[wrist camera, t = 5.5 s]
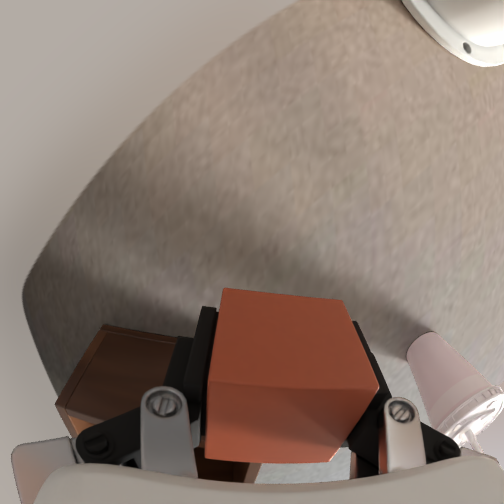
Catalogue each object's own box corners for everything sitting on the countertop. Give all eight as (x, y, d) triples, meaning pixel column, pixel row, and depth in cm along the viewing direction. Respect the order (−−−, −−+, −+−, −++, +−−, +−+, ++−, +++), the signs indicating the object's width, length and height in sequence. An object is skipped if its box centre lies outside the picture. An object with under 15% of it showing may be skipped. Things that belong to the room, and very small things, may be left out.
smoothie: (386, 343, 22) (458, 484, 9) (448, 306, 21) (543, 420, 8) (399, 384, 24) (452, 501, 11) (453, 351, 23) (522, 454, 10)
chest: (103, 323, 21) (53, 404, 13) (262, 347, 22) (269, 445, 13) (128, 431, 27) (109, 495, 18) (240, 448, 27) (239, 517, 19)
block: (223, 286, 11) (207, 380, 7) (342, 299, 11) (381, 386, 7) (215, 372, 12) (204, 458, 8) (313, 380, 13) (329, 462, 9)
